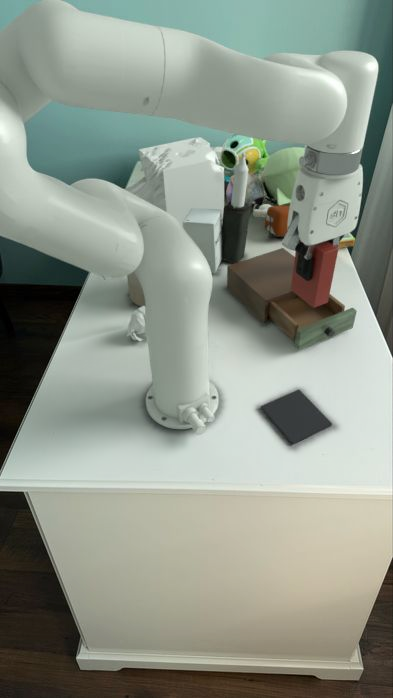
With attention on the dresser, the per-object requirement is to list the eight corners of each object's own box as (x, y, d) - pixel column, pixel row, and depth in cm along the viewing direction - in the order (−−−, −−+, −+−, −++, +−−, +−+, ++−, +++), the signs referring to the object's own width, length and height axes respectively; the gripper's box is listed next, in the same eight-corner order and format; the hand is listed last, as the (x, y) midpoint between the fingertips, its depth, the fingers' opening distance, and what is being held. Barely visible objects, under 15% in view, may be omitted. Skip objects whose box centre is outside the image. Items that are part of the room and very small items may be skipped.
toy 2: (243, 223, 138) (271, 240, 126) (245, 198, 134) (275, 212, 123) (272, 221, 141) (303, 237, 129) (275, 196, 138) (307, 210, 126)
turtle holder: (279, 181, 157) (254, 191, 150) (236, 164, 166) (210, 172, 160) (286, 140, 149) (259, 149, 142) (240, 124, 158) (213, 131, 152)
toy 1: (233, 170, 141) (249, 221, 140) (279, 132, 126) (296, 189, 125) (284, 171, 153) (299, 218, 152) (332, 136, 138) (348, 189, 137)
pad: (331, 425, 84) (332, 423, 84) (292, 445, 81) (292, 442, 81) (298, 391, 90) (298, 389, 90) (260, 408, 87) (260, 406, 87)
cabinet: (320, 302, 109) (324, 278, 105) (263, 324, 104) (265, 300, 100) (280, 270, 119) (282, 247, 115) (226, 289, 114) (227, 265, 110)
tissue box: (206, 131, 132) (114, 147, 124) (236, 150, 121) (138, 170, 113) (206, 205, 145) (123, 224, 138) (233, 228, 135) (145, 250, 127)
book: (328, 302, 82) (338, 248, 76) (313, 308, 81) (323, 253, 75) (303, 284, 86) (312, 231, 80) (289, 289, 85) (297, 235, 79)
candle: (217, 257, 123) (227, 152, 107) (227, 249, 126) (239, 146, 110) (235, 264, 121) (248, 159, 105) (245, 255, 124) (259, 152, 108)
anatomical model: (259, 214, 146) (238, 225, 140) (232, 182, 147) (210, 191, 141) (278, 191, 138) (257, 201, 132) (249, 157, 139) (226, 165, 133)
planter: (125, 287, 116) (119, 250, 109) (170, 277, 118) (168, 240, 112) (136, 314, 108) (131, 276, 102) (185, 303, 110) (183, 265, 104)
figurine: (202, 325, 104) (196, 294, 102) (136, 347, 97) (129, 313, 95) (184, 321, 110) (179, 291, 108) (121, 341, 103) (114, 310, 101)
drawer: (357, 331, 100) (361, 313, 98) (302, 354, 96) (304, 336, 93) (310, 293, 110) (313, 276, 107) (258, 312, 106) (259, 296, 103)
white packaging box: (216, 274, 118) (213, 224, 110) (185, 270, 120) (181, 221, 112) (224, 257, 123) (222, 208, 115) (194, 254, 125) (190, 206, 117)
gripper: (301, 180, 63) (285, 300, 75) (396, 154, 69) (367, 269, 82) (265, 160, 68) (256, 276, 80) (357, 138, 74) (335, 249, 86)
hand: (312, 272), depth 81 cm, fingers closed on book, 3 cm apart
